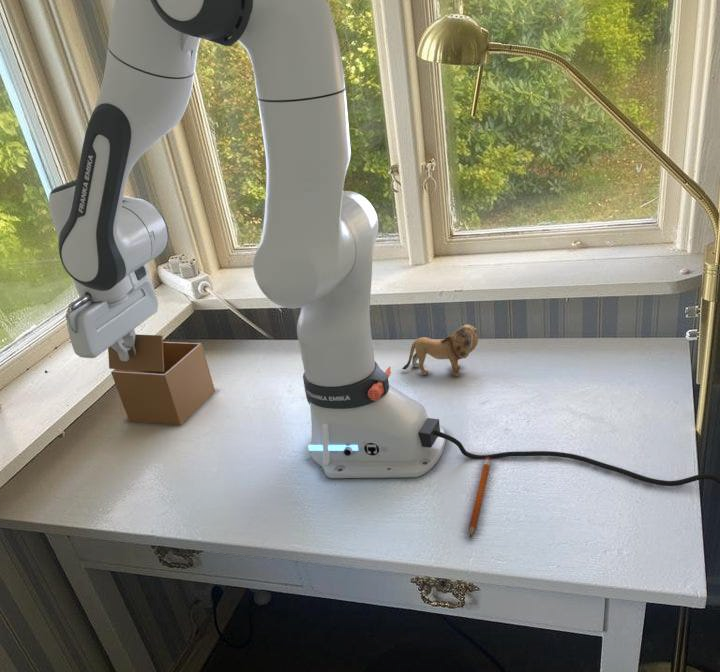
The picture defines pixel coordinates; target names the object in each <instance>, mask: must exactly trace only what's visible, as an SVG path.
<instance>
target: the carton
mask: <svg viewBox="0 0 720 672" xmlns="http://www.w3.org/2000/svg"><path fill="white" fill-rule="evenodd" d="M163 355H164V372H157V371H140V370H123V369H112V371H110V374H111V376H112V379H113V381H114V384H115V386H116V390H117V393H118V395H119V398H120V400H121V404H122V406H123V408H124V411H125V414H126V417H127V419H128V421H130V422H139V423H140V422H141V423H150V424H161V425H162V424H163V425H173V426H182V425H183V424H184V423H185V422H186V421H187V420H188V419H189V418H190V417H191V416H192V415H193V414H194V413H195V412H196V411H197V410H198V409H199V408H200V407H201V406H202V405H203V404H205V402H206V401H207V400H208V399H209V398H210V397H211V396H212V395H214V393H215V392H216V390H215V386H214V383H213V379H212V375H211V371H210V367H209V365H208V361H207V357H206V354H205V350H204V346H203V343H202V342H183V341H182V342H181V341H163Z"/></svg>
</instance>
